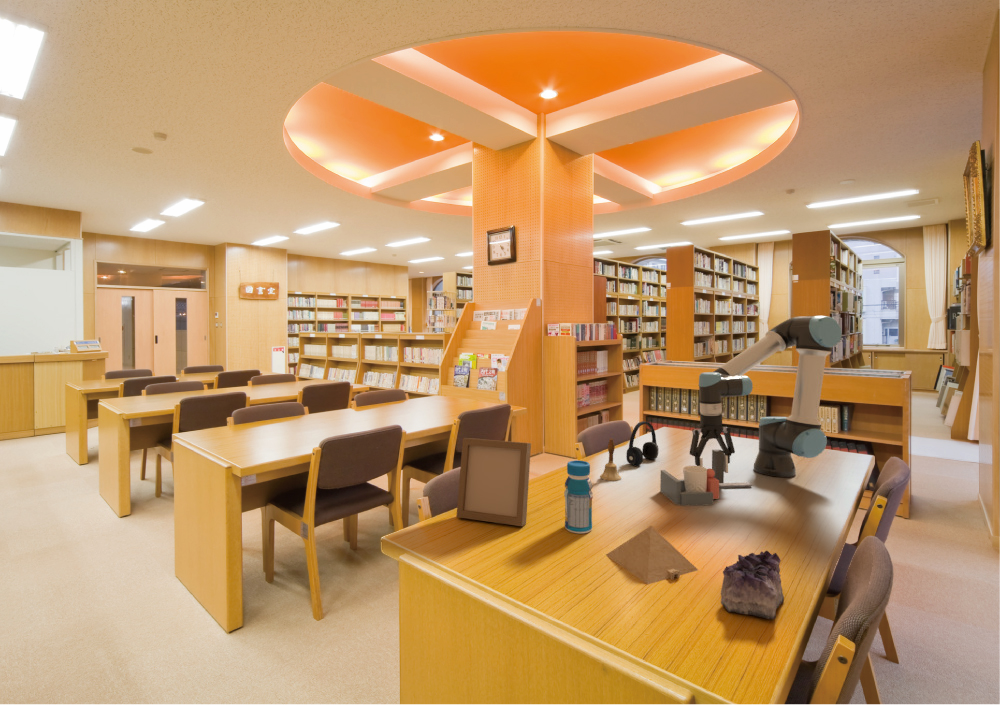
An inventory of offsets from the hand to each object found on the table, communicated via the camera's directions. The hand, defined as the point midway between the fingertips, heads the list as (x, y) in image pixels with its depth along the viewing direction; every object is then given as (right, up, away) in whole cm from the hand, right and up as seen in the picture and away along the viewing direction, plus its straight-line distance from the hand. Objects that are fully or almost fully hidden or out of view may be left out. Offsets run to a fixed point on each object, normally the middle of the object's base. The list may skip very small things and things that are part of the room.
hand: (712, 472), depth 179 cm
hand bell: (-36, -5, +13) cm, 38 cm away
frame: (-14, -6, -10) cm, 18 cm away
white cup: (-10, -6, -10) cm, 16 cm away
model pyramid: (-41, -9, -57) cm, 71 cm away
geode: (-24, -10, -73) cm, 77 cm away
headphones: (-16, -4, +35) cm, 39 cm away
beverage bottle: (-57, -8, -36) cm, 67 cm away
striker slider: (-2, -5, -5) cm, 8 cm away
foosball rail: (-1, -5, 0) cm, 6 cm away
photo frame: (-81, -8, -25) cm, 85 cm away
